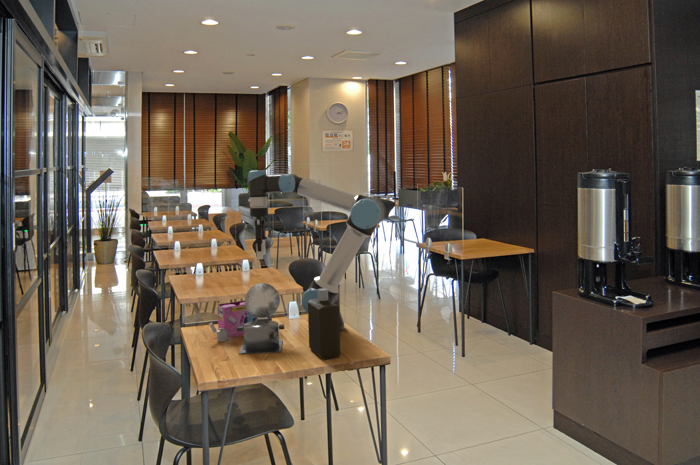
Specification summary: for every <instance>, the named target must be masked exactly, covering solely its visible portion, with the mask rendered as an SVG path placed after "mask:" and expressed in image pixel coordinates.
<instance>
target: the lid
mask: <svg viewBox="0 0 700 465" xmlns="http://www.w3.org/2000/svg"><path fill="white" fill-rule="evenodd" d="M244 298H245V299H244V300H245V305H246V308H247V310H248V311H249V312H250V313H251V314H252V315H253V316H255V317H258V319H267V317H269V316H271V315H274V314H275V313H276V312H277V311H278V310H279V309H278V308H279V306H280V303H281V298H280V294H279V292H278V290H277V289H276V287H275V286H273V285H271V284H269V283H265V282H261V283H256V284H254V285H253V286H251V287H250V288H249V289H248V291H247V292H246V294H245V297H244Z"/></svg>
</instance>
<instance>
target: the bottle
mask: <svg viewBox="0 0 700 465" xmlns="http://www.w3.org/2000/svg"><path fill="white" fill-rule="evenodd" d="M307 319H308V325H307V326H308V348H309V349H310V350H312V352H314V353H315V354H316V355H317V356H319V357H320V358H321V359H322V360H323V361H324V360H331V359H332V360H333V359H339V358H340V356H341V331H340V316H339V307H338V306H337V305H336V304H334V303H332V302H331V301H329V300H328V289H324V288H322V289H318V299H310V300H309V301H308V313H307Z"/></svg>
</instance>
